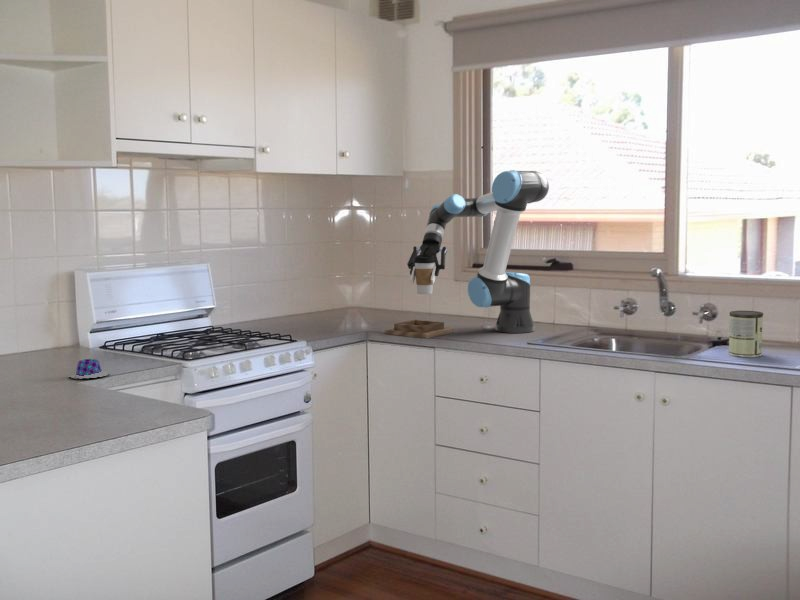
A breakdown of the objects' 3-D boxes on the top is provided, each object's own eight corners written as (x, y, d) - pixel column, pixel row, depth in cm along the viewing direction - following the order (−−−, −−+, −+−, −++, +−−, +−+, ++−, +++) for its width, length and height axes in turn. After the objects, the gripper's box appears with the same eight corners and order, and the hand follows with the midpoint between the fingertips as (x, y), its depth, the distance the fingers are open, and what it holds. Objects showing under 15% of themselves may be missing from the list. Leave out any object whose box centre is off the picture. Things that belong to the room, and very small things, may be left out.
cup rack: (453, 332, 347) (453, 322, 347) (426, 338, 333) (426, 327, 332) (412, 328, 359) (412, 318, 359) (385, 333, 345) (384, 323, 344)
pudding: (118, 376, 268) (117, 359, 267) (83, 383, 258) (82, 365, 258) (94, 372, 275) (93, 355, 274) (59, 378, 265) (58, 361, 265)
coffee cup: (436, 292, 352) (435, 254, 350) (434, 294, 344) (434, 256, 342) (415, 292, 354) (414, 254, 352) (413, 294, 345) (412, 256, 343)
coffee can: (726, 351, 297) (727, 310, 296) (758, 352, 295) (760, 310, 293) (730, 357, 287) (731, 314, 286) (764, 358, 285) (765, 314, 283)
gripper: (459, 243, 357) (449, 288, 344) (411, 243, 364) (399, 287, 351) (455, 231, 352) (445, 276, 339) (407, 231, 358) (394, 275, 345)
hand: (422, 281), depth 345 cm, fingers closed on coffee cup, 8 cm apart
